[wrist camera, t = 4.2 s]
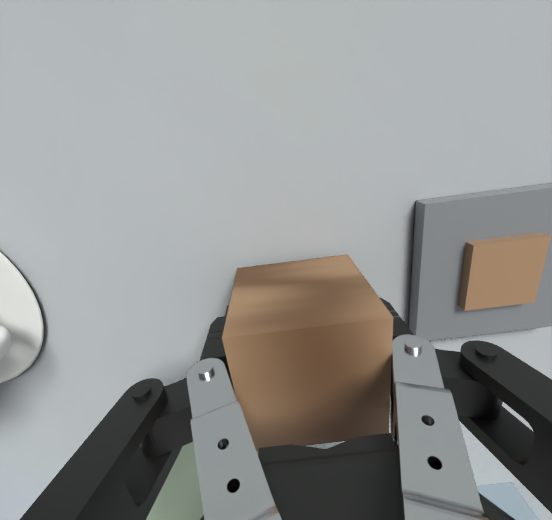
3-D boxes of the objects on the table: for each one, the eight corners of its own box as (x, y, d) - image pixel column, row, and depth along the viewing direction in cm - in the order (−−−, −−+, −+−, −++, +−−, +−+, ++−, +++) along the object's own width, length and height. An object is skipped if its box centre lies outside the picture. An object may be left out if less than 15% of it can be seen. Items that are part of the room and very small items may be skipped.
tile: (408, 332, 15) (420, 348, 14) (415, 200, 13) (431, 206, 11) (542, 316, 15) (566, 331, 14) (578, 179, 12) (612, 183, 11)
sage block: (191, 478, 19) (167, 583, 15) (172, 426, 18) (138, 527, 13) (265, 470, 19) (264, 574, 15) (253, 417, 17) (249, 516, 13)
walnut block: (253, 355, 15) (248, 451, 10) (237, 268, 13) (222, 338, 8) (350, 344, 15) (388, 435, 10) (347, 254, 13) (393, 317, 8)
